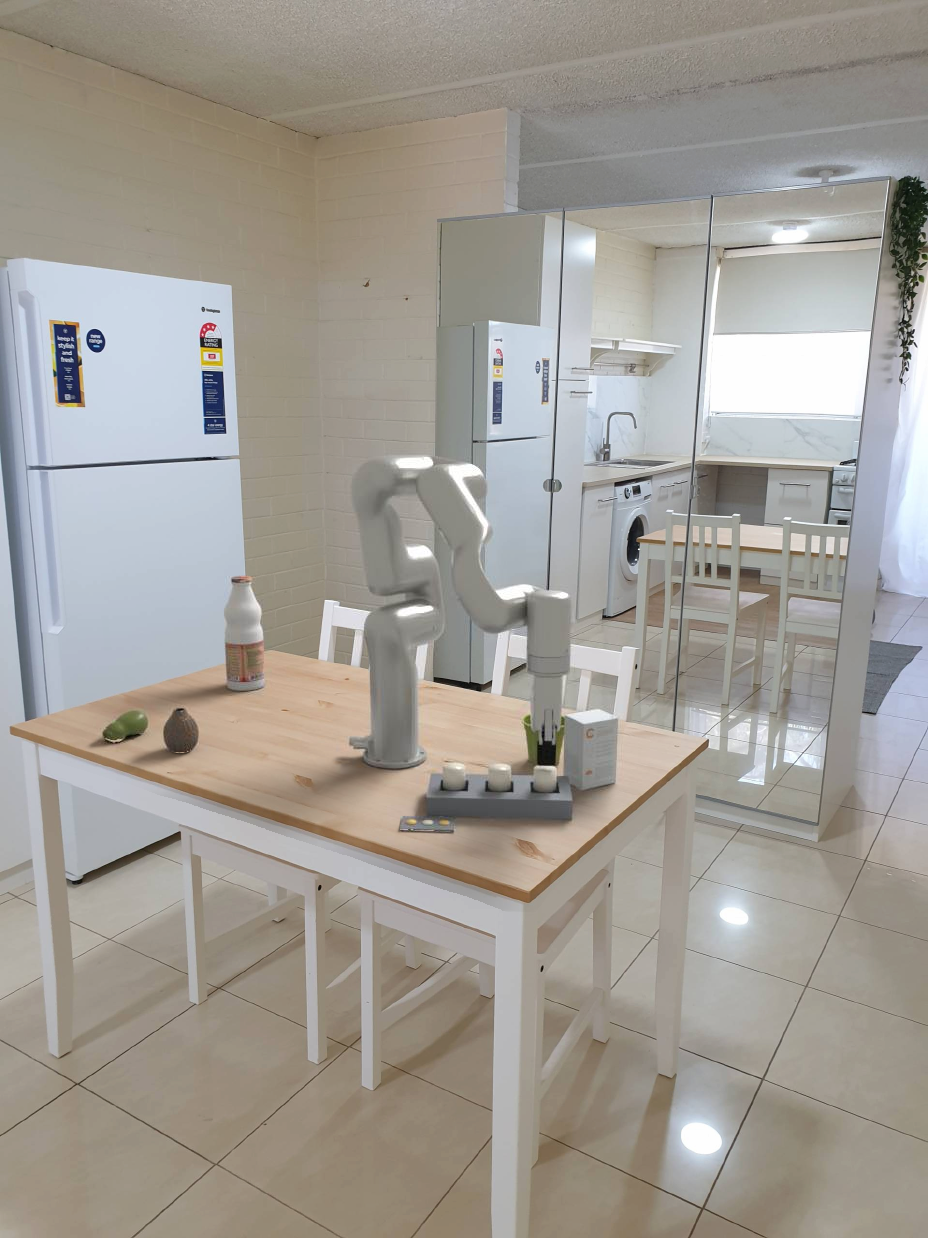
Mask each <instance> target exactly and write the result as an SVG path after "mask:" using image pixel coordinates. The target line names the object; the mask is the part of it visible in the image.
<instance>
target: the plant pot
mask: <svg viewBox="0 0 928 1238" xmlns="http://www.w3.org/2000/svg"><path fill="white" fill-rule="evenodd" d="M530 715H531V713H529V714H526V715H524V716H522V718H521V722H522V724H523V729H524V730H525V735H526V736H525V737H526V744H527V757H528V761H530V763H531V764H532V765H535V766H537V741H539V731H536V732H533V731H532V729H531V719H530ZM564 721H565V715H564V716H563V715H562V714H561V726H560V730H559V731H558V732H555V741H556V765H558V763H560V759H561V754H562V748H563V744H564Z"/></svg>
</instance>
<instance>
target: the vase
mask: <svg viewBox="0 0 928 1238" xmlns="http://www.w3.org/2000/svg"><path fill="white" fill-rule="evenodd" d="M162 734H163V735H162V736H163V742H164V744H165V746H166V748H167V749H168V750H169V751H171V752H172V751H173V752H187V751H190V750H191V751H193V750H194V748H195V747H196V746H197V744H198V742H199V734H200V733H199V726H198V725H197V722H196V720H195V719H194V718H193V716H191V715H190V714H189V713H188V710H187V709H186V708H185V707H176V708H174V709H173V711H172V713H171V715H170V716H169V717H168V719H167V720H166V722H165V724H164V728H163V732H162ZM191 751H190V752H191ZM173 752H172V753H173ZM187 753H188V752H187Z"/></svg>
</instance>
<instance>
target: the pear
mask: <svg viewBox="0 0 928 1238" xmlns="http://www.w3.org/2000/svg"><path fill="white" fill-rule="evenodd" d="M148 725H149V720H148V716H147V715H146V714H145V713H144V712H143V711H141V710H136V709H134V710H130V711H127V712H125V713H123V714H121V715H120V716H119V717H117V718H116V720H115V721H113V722H111V723H109V724H108V725H107V726H106V727H105V729H104V730H103V731H102V732H101V733H102V734H101V735H102V737H103V738H104V739H105V738H107V739H110V740H117V739H123V738H124V739H126V737H128V736H136V735H135V734H139V735H141V734H140V733H142V734H143V733H145V732H146V731H147V728H148V727H149V726H148Z"/></svg>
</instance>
